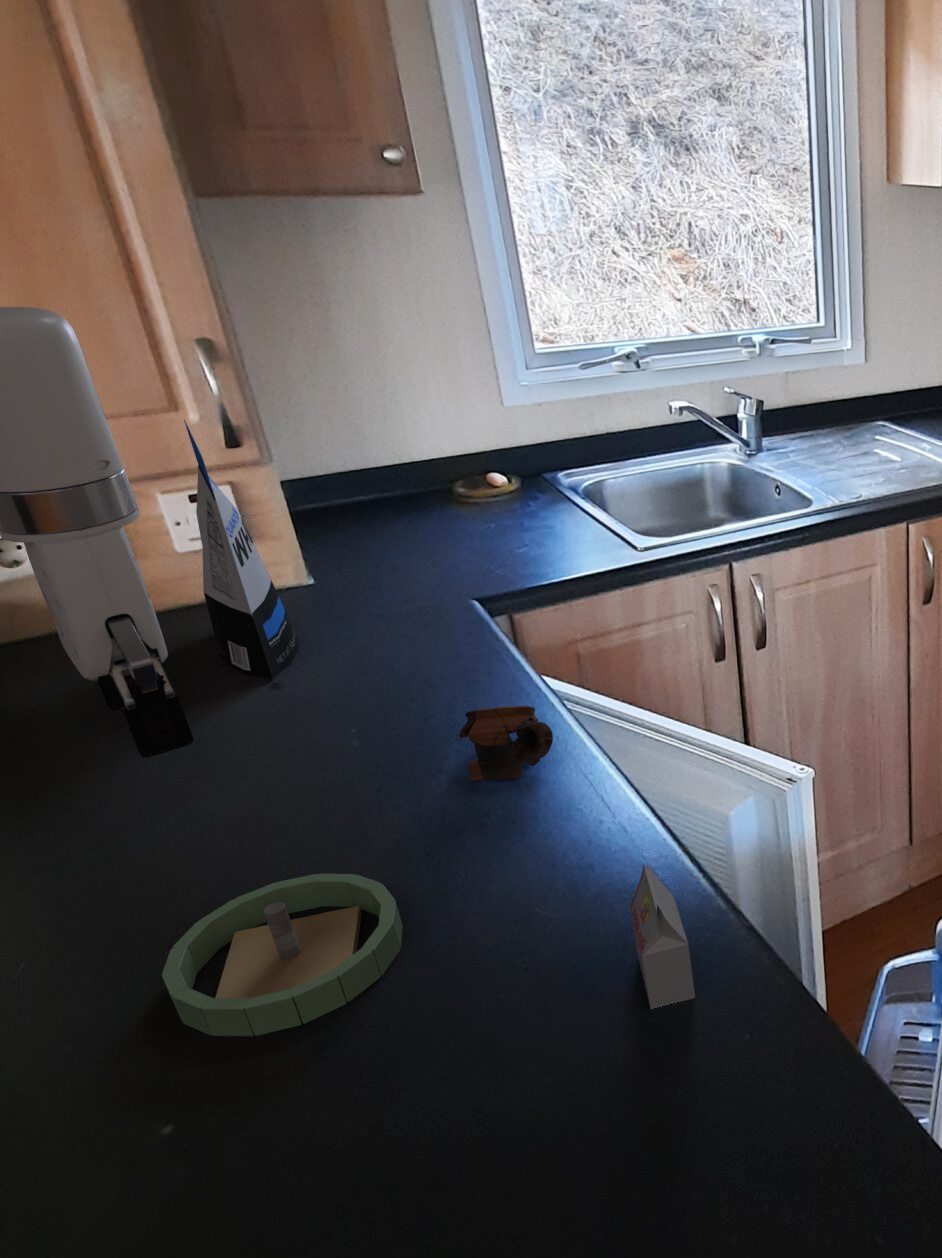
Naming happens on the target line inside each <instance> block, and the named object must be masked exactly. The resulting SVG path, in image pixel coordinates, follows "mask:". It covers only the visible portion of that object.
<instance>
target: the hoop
mask: <svg viewBox="0 0 942 1258" xmlns="http://www.w3.org/2000/svg"><path fill="white" fill-rule="evenodd" d="M277 902H282V903H284V904H285V906H286V909H287V912H288V914H293V913H298V912H303V911H307V910H308V911H309V910H314V909H318V908H322V907H328V908H329V907H331V908H336V907H338V908H340V907H342V908H350V907H354V906H360V909H361V911H365V912H366V913H370V914H373V915H375V916H377V917H378V925H377V927H376V928H375V929H374V930H373V932H372V933H371V934H370V936H369V937H368V939H367V940H366V941H365V943H364V944H363V946H361V948H360V949H358V950H357V951H356V953H355V954H353V955H352V956H351V957H349V958H348V959H346V960H345V961H344V962H342V963H341V964H340V965H338V966H337V967H336V968H334V969H333V970H331V971H329V972H327V973H325V974H323V975H320V976H318V977H316V978H314V979H312V980H309V981H307V982H305V983H303V984H301V985H298V986H296V987H294V988H292V989H288V990H283V991H279V992H275V993H271V994H266V995H262V996H258V997H253V998H215V997H212V996H209V995H207V994H204V993H202V992H199V991H197V990H195V989H193V988H194V985H195V983H196V979H197V975H198V973H199V972H201V970H202V969H203V968H204V966H206V965H207V963H208V962H209V961H211V959H212V958H213V957H214V956H215V954H217V952H218V951H219V950H220V949H222V948H224V947H225V946H227V945H228V944H231V943H232V940H233V936H234V933H235V932H237V931H241V930H246V929H251V928H256V927H260V926H262V925H263V924H266V923H267V920H266V918H265V915H264V912H263V911H264V909H265V908H266V907H267V906H268V905H270V904H273V903H277ZM403 929H404V927H403V923H402V919H401V915H400V911H399V908H398V905H397V902H396V899H395V897H393V895H392V894H391V893H390V892H389V890H388V889H387V888H386V886H385V885H384V884H383V883H381V882H379V881H377V880H374V879H372V878H371V879H370V878H369V877H368V878H367V877H365V876H362V875H359V874H353V873H314V874H310V875H303V876H299V877H295V878H290V879H284V880H279V881H277V882H273V883H270V884H267V885H265V886H262V887H260V888H257V889H255V890H252V891H250V892H247V893H245V894H242V895H240V896H237V897H235V898H233V899H231V900H229V901H228V902H226V903H224V904H223V905H221V906H220V907H218V908H217V909H215V910H213V911H212V912H210V913H209V914H206V915H205V916H204V917H202V918H201V919H199V920H198V921H196V922H195V923H194V924H193V925H192V926H191V927H190V928H189V929H188V930H187V931H186V932H185V933H184V934H183V935H182V937H180V938H179V939H178V940H177V942H175V943H174V945H173V946H171V949H170V951H169V954H168V956H167V959H166V961H165V964H164V967H163V969H162V972H161V978H162V980H163V982H164V985H165V987H166V989H167V992H168V994H169V996H170V998H171V1001H172V1003H173V1005H174V1008H175V1010H176V1012H177V1014H178V1016H179V1018H180V1021H181V1023H182V1024H183V1025H185V1026H187V1027H190V1028H192V1029H195V1030H196V1031H199V1032H201V1033H203V1034H205V1035H207V1036H211V1037H212V1036H213V1037H254V1036H255V1037H258V1036H263V1035H267V1034H270V1033H274V1032H275V1033H276V1032H278V1031H282V1030H287V1029H291V1028H294V1027H299V1026H302V1024H303V1025H306V1024H307V1023H309V1022H311V1021H314V1020H315V1019H318V1018H321V1017H323V1016H324V1015H327V1014H329V1013H330V1012H333V1011H335V1010H337V1009H339V1008H341V1007H343V1006H345V1005H347V1003H350V1002H351V1001H353V1000H354V999H355V998H356V997H358V996H359V995H361V993H363V992H364V991H366V990H367V989H368V988H369V987H371V986H372V985H374V984H375V983H376V982H377V981H378V980H380V979H381V978H382V977H383V976H384V974H385V973H386V972H387V970H388V968H389V967H390V966H391V964H392V963H393V962H394V960H395V958H396V957H397V956H398V955H399V953H400V951H401V949H402V940H403V939H402V938H403Z"/></svg>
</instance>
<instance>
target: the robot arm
mask: <svg viewBox="0 0 942 1258" xmlns="http://www.w3.org/2000/svg"><path fill="white" fill-rule="evenodd" d="M85 358H86V357H85V356H84V353H83V350H82V348H81V345H80V342H79V339H78V337H77V335H76V332H75V330H74V328H73V327H72V325H71V324H70V323H69V322H68V320H67V319H66V318H64V317H63V316H62V315H61V314H59V313H57V312H55V311H52V310H51V309H45V308H41V307H31V306H0V538H2V540H5V541H10V542H12V543H23V545H24V548H25V552H26V555H27V557H28V561H29V562H30V566H31V568H32V572H33V575H34V576H35V579H36V582H37V584H38V586H39V590H40V592H41V594H42V597H43V599H44V601H45V604H46V606H47V609H48V611H49V613H50V614H49V615H50V616H51V619H52V621H53V624H54V627H55V629H56V632H57V635H58V637H59V640H60V643H61V646H62V647H63V649H64V651H65V653H66V654H67V656H68V657H69V659H70V660H71V662H72V663H73V665H74V666H75V668H76V669H77V671H78V673H79V674H80V675H81V677H82V678H84V679H86V680H88V681H91V682H97V684H98V686H99V689H100V691H101V694H102V696H103V699H104V701H105V704H106V706H107V707H108V709H109V710H110V711H118V710H121V712H122V714H123V717H124V719H125V721H126V725H127V727H128V729H129V732H130V734H131V737H132V740H133V743H134V744H135V747H136V750H137V752H138V754H139V755H140V756H141V757H142V758H144V759H148V758H151V757H155V756H158V755H162V754H164V753H167V752H171V751H174V750H177V749H181V748H185V747H186V746H189V745H192V744H193V742H194V736H193V733H192V731H191V728H190V725H189V722H188V720H187V716H186V715H185V712H184V708H183V706H182V704H181V701H180V698H179V695H178V693H177V692H176V691H174V689H173V686H172V684H171V683H170V681H169V678H168V677H167V673H165V670H164V668H163V666H162V664H163V663H164V662H165V661H166V660H167V658H168V656H169V653H168V649H167V645H166V642H165V637H164V635H163V633H162V629H161V626H160V623H159V620H158V616H157V614H156V611H155V607H154V605H153V602H152V599H151V596H150V594H149V591H148V588H147V585H146V583H145V579H144V576H143V575H142V572H141V571H142V570H141V569H140V565H139V564H138V561H137V558H136V555H135V553H134V550H133V547H132V545H131V543H130V540H129V537H128V535H127V532H126V529H125V526H128V525H130V524H132V523H134V522H135V521H137V520H138V519H139V517H140V516H141V513H140V510H139V508H138V507H139V506H138V505H137V501H136V498H135V495H134V493H133V490H132V487H131V484H130V481H129V478H128V476H127V473H126V470H125V467H124V465H123V462H122V459H121V457H120V454H119V452H118V448H117V445H116V442H115V440H114V437H113V434H112V432H111V427H110V426H109V423H108V420H107V418H106V415H105V411H104V409H103V406H102V402H101V401H100V398H99V397H100V396H98V395H99V394H98V392H97V389H96V387H95V384H94V381H93V378H92V375H91V373H90V370H89V367H88V364H87V361H86V359H85Z"/></svg>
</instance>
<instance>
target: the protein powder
mask: <svg viewBox="0 0 942 1258" xmlns="http://www.w3.org/2000/svg"><path fill="white" fill-rule="evenodd" d="M183 421H184V424H185V428H186V431H187V434H188V438H189V440H190V444H191V447H192V450H193V454H194V456H195V460H196V462H197V486H196V487H197V489H196V509H195V512H196V513H195V514H196V519H197V520H196V521H197V524H198V530H199V535H200V541H201V547H202V584H203V586H202V587H203V588H202V589H203V590H202V591H203V595H204V599H205V603H206V608H207V611H208V615H209V619H210V622H211V626H212V630H213V634H214V638H215V643H216V646H217V650H218V655H219V658H220V659H221V660H222V661H223V663H224V664H225V666H227V667H228V668H230V669H233V670H234V671H237V672H239V673H241V674H244V675H247V676H255V677H262V678H269V679H271V681H274V677H275V676H277V675H278V674H279V673H281V672H283V670H285V669H286V668H288V666H290V665H291V664H292V663H293V661H294V659H295V658H296V655H297V654H298V652H299V650H300V646H299V639H298V636H297V634H296V632H295V630H294V628H293V625H292V623H291V621H290V619H289V616H288V614H287V611H286V609H285V607H284V605H283V603H282V600H281V598H280V596H279V594H278V592H277V589H276V587H275V585H274V582H273V580H272V578H271V576H270V574H269V571H268V570H267V568H266V565H265V563H264V562H263V559H262V557H261V555H260V552H259V551H258V549H257V547H256V545H255V543H254V540H253V539H252V536H251V534H250V532H249V530H248V528H247V525H246V524H245V522H244V520H243V517H242V516H241V514H240V512H239V510H238V509H237V507H236V506H235V505H234V504H233V502H231V500H230V499H229V498H228V496H226V494H225V493H224V492H223V491H222V490H221V489H220V487H219V486H218V485H217V484H216V483H215V482H214V480H213V479H212V478H211V477H210V476H209V474H208V470H207V468H206V464H205V462H204V458H203V456H202V453H201V451H200V449H199V447H198V445H197V442H196V441H195V438H194V436H193V435H192V432H191V430H190V428H189V425H188V424H187V421H186V419H185V418H183Z"/></svg>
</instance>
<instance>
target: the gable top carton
mask: <svg viewBox="0 0 942 1258" xmlns="http://www.w3.org/2000/svg"><path fill="white" fill-rule="evenodd" d="M629 909H630V915H631V921H632V929H633V933H634V940H635V946H636V952H637V958H639V959H638V963H639V966H640V967H639V968H640V971H641V974H642V975H641V976H642V980H643V983H645V984H644V988H645V992H646V995H647V1001H648V1004H649V1008H650V1011H653V1010H652V1009H654V1008H657V1007H658V1009H660V1008H659V1007H661V1008H663V1007H662V1006H665V1005H668V1006H670V1005H669V1004H672V1005H674V1004H673V1003H675V1004H678V1003H677V1002H679V1003H682V1002H686V1001H689V1000H693V999H696V992H695V984H694V977H693V970H692V961H691V954H690V945H689V941H688V939H687V936H686V932H685V929H684V926H683V923H682V919H681V916H680V912H679V909H678V906H677V902H676V899H675V896H674V894H673V893H672V891H670V890H669V889H668V888H667V887H666V885H664V883H663V882H662V881H661V880H660V879H659V878H658V877H657V875H656V874H655V873H654V871H653V869H651V867H650V865H649V863H648V862H647V863H646V865H645V864H644V863H642V871H641V873H640V877H639V882H638V884H637V887H636V890H635V892H634V895H633V897H632V900H631V902H630V904H629ZM681 1001H682V1002H681ZM665 1007H666V1006H665ZM654 1010H655V1009H654Z"/></svg>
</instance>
